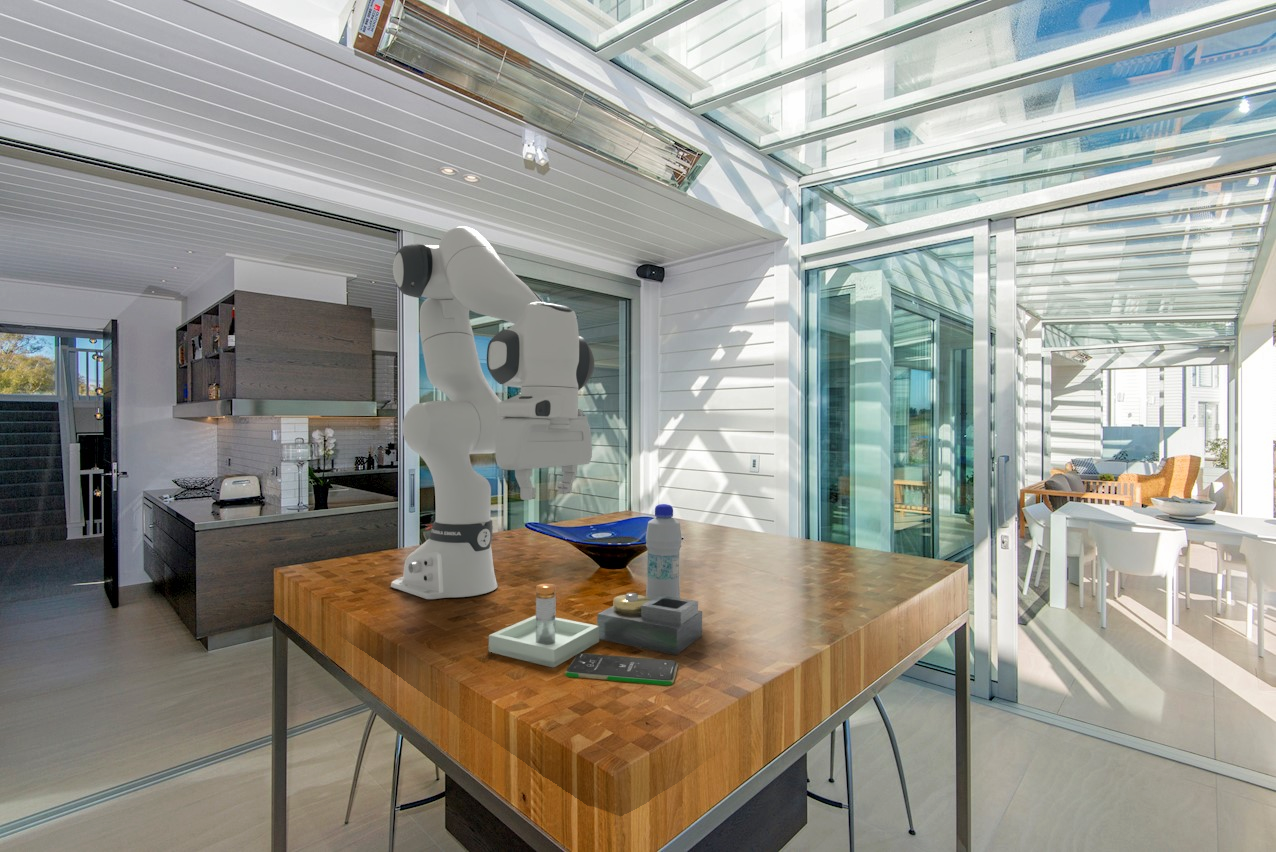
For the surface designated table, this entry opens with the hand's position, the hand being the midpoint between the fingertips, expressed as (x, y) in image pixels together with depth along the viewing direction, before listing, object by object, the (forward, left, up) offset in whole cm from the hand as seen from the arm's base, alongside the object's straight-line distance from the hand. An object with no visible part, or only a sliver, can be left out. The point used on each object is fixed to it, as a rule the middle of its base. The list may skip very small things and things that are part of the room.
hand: (547, 496), depth 92 cm
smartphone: (+15, -2, -24) cm, 28 cm away
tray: (0, 0, -23) cm, 23 cm away
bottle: (+8, +25, -23) cm, 35 cm away
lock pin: (0, 0, -22) cm, 22 cm away
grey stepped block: (+12, +12, -23) cm, 29 cm away
